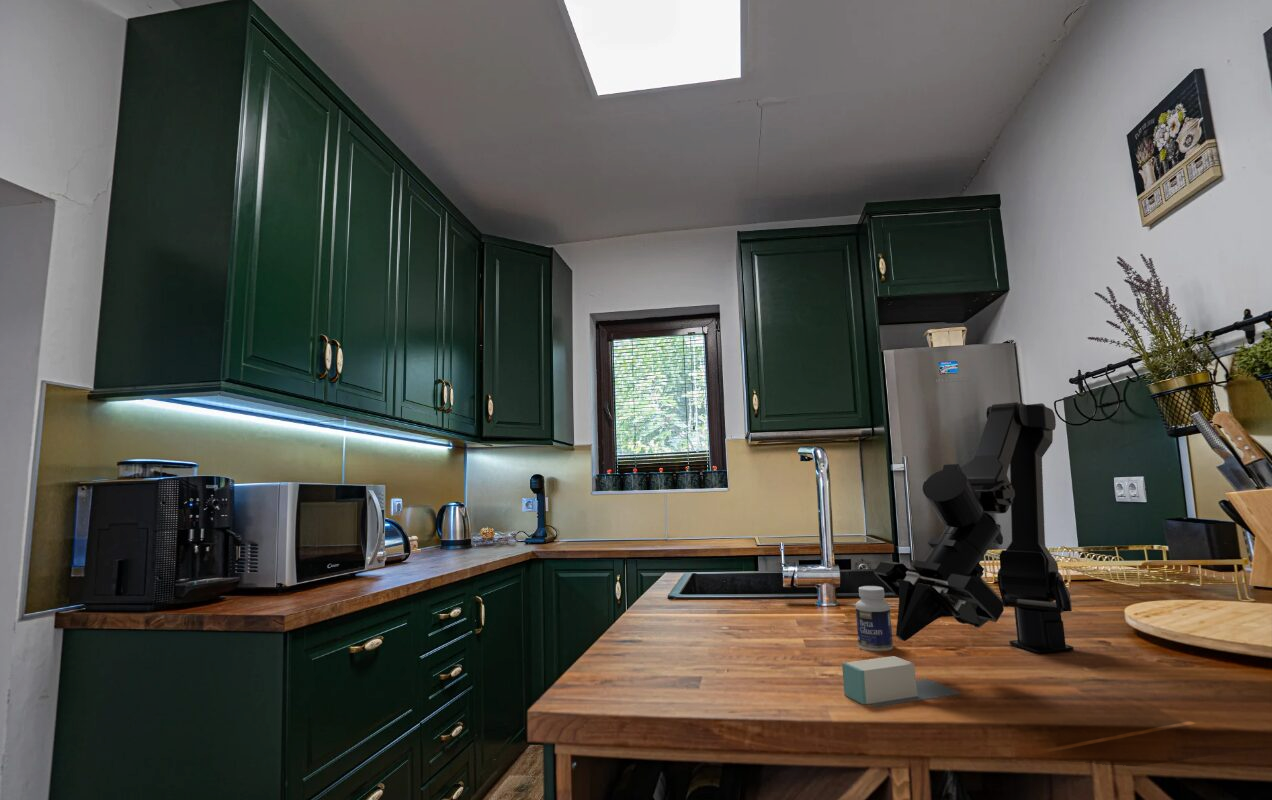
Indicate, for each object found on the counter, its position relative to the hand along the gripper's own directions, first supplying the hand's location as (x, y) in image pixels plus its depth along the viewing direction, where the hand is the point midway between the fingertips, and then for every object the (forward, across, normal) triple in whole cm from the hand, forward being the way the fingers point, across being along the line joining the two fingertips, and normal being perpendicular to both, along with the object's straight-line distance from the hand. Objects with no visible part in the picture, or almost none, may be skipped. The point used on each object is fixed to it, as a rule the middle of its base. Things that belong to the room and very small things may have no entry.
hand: (900, 638), depth 87 cm
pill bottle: (-2, +21, -13) cm, 24 cm away
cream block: (+3, 0, -4) cm, 5 cm away
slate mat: (+5, 0, -5) cm, 7 cm away
